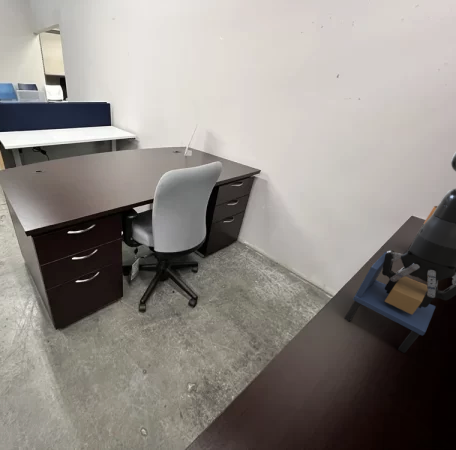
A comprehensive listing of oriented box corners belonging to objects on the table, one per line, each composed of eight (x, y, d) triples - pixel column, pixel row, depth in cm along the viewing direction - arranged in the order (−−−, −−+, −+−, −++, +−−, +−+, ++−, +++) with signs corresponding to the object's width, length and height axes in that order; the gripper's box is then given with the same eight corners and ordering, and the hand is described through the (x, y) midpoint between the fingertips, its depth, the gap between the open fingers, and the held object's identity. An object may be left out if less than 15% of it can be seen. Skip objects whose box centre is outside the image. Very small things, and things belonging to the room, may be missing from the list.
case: (420, 298, 59) (429, 286, 57) (412, 314, 54) (421, 301, 52) (394, 287, 63) (401, 274, 61) (384, 301, 58) (392, 288, 56)
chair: (418, 328, 62) (458, 277, 54) (406, 355, 55) (450, 301, 47) (358, 298, 71) (385, 250, 64) (342, 318, 64) (370, 267, 57)
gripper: (499, 249, 47) (448, 311, 55) (403, 221, 58) (371, 277, 65) (498, 261, 43) (443, 326, 51) (395, 229, 53) (362, 288, 61)
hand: (403, 298), depth 58 cm, fingers closed on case, 5 cm apart
